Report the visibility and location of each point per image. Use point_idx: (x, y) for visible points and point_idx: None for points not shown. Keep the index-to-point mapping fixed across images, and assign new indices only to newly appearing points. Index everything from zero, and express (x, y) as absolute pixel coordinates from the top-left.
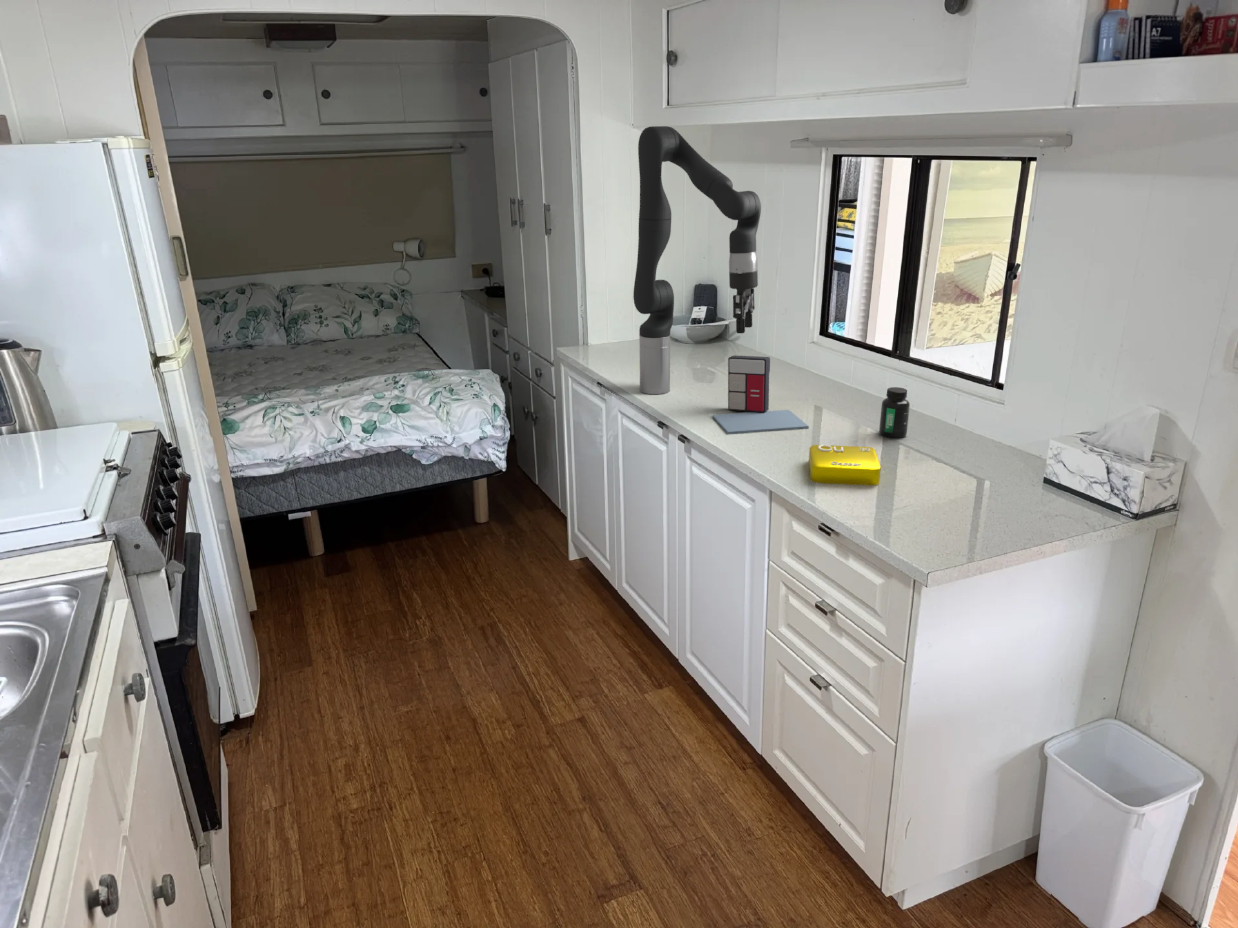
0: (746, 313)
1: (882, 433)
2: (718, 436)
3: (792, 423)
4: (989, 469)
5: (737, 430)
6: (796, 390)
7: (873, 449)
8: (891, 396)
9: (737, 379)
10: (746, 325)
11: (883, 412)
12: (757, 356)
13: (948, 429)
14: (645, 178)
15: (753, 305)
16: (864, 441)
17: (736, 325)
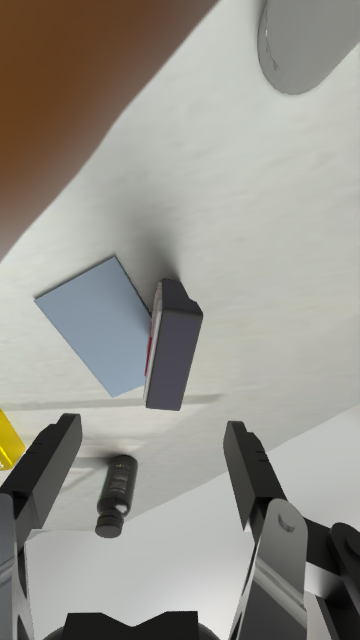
0: (257, 515)
1: (112, 460)
2: (17, 286)
3: (115, 379)
4: (60, 512)
5: (48, 313)
6: (301, 367)
7: (4, 469)
8: (98, 519)
9: (152, 315)
10: (229, 435)
11: (105, 487)
12: (185, 384)
13: (158, 496)
14: None
15: (327, 623)
16: (89, 444)
17: (40, 448)
